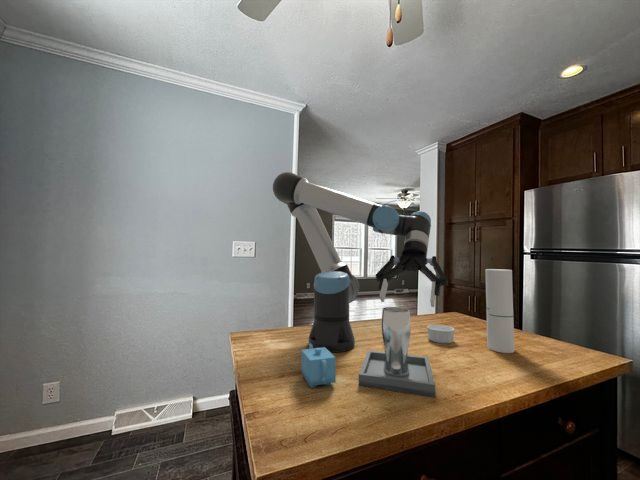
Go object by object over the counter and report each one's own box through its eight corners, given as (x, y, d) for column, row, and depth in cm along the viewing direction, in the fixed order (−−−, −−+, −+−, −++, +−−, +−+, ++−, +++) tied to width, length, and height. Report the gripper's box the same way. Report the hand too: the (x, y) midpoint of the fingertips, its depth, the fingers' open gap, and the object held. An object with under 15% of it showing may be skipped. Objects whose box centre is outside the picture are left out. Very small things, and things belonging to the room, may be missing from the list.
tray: (358, 385, 61) (358, 374, 61) (367, 359, 76) (367, 350, 76) (435, 397, 56) (435, 384, 56) (428, 366, 72) (428, 357, 72)
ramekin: (421, 338, 97) (421, 326, 97) (438, 335, 101) (438, 323, 101) (442, 345, 89) (442, 332, 89) (460, 341, 93) (460, 329, 93)
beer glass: (411, 367, 69) (410, 307, 69) (411, 379, 62) (410, 313, 63) (383, 363, 71) (382, 306, 72) (380, 374, 64) (379, 311, 65)
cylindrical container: (505, 345, 89) (503, 269, 90) (519, 353, 82) (517, 270, 83) (483, 344, 90) (481, 269, 91) (494, 352, 83) (492, 270, 84)
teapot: (297, 371, 69) (298, 340, 69) (320, 367, 71) (320, 338, 71) (311, 394, 57) (312, 358, 58) (338, 389, 59) (338, 354, 60)
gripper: (458, 256, 84) (456, 314, 71) (380, 255, 97) (366, 304, 83) (457, 238, 80) (455, 297, 66) (375, 239, 92) (359, 289, 79)
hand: (405, 301), depth 75 cm, fingers open, 13 cm apart
